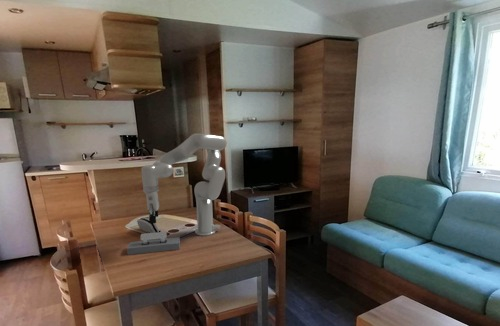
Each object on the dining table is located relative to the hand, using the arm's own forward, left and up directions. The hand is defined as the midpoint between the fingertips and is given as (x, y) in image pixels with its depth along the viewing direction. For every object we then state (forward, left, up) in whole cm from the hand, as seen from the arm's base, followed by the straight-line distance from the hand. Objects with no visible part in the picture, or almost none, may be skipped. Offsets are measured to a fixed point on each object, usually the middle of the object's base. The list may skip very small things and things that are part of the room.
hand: (154, 219), depth 147 cm
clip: (+1, 0, -16) cm, 16 cm away
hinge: (+7, -27, -17) cm, 33 cm away
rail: (+1, 0, -16) cm, 16 cm away
